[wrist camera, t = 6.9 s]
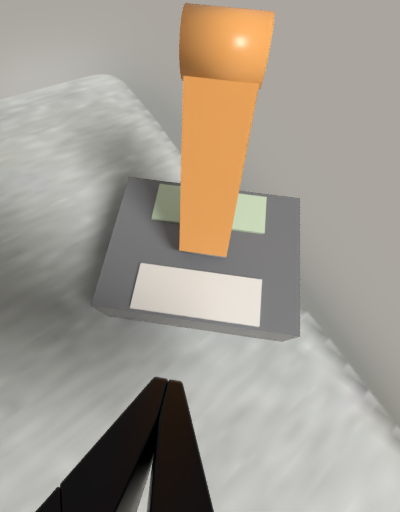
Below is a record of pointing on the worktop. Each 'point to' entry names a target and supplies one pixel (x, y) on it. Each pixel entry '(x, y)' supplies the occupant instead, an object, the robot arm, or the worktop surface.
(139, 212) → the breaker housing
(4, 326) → the worktop surface
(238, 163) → the lever
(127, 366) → the worktop surface
